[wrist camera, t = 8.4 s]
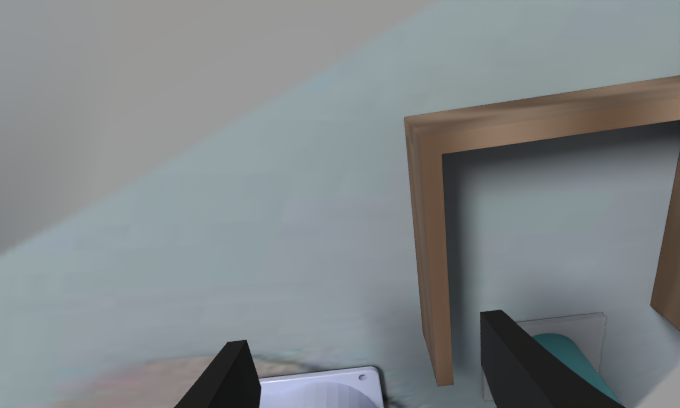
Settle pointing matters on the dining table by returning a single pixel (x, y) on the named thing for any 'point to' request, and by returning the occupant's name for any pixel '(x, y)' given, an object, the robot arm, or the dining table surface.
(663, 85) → the open u-shaped frame
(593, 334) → the mat
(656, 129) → the dining table surface
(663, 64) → the dining table surface
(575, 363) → the capsule
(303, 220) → the dining table surface
